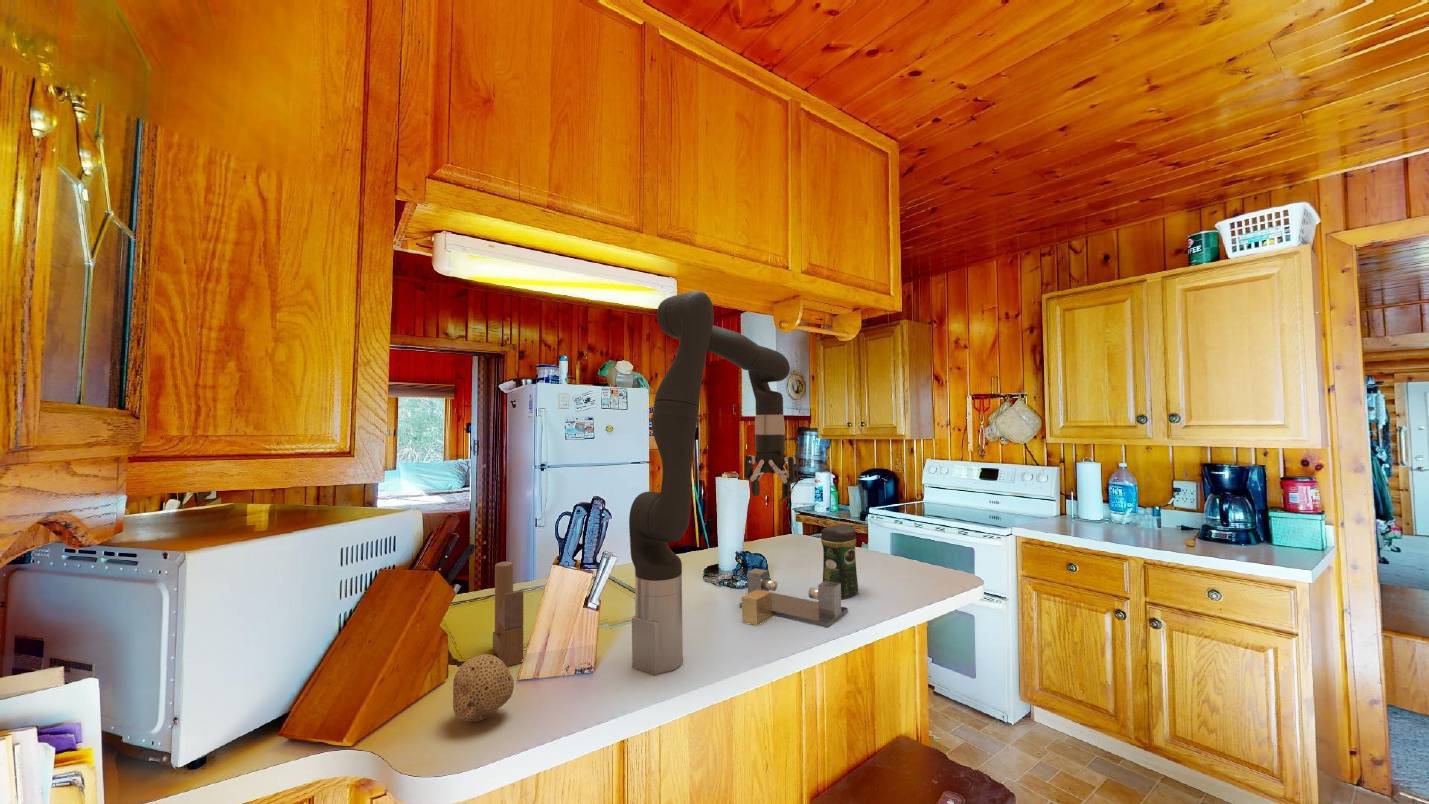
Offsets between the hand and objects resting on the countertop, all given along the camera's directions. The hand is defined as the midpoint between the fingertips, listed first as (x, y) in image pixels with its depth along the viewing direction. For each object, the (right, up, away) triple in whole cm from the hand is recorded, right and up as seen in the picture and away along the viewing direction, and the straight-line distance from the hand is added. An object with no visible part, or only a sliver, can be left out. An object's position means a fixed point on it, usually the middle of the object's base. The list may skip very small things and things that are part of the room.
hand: (770, 497), depth 134 cm
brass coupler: (-4, -28, -7) cm, 29 cm away
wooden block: (-57, -28, -25) cm, 68 cm away
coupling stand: (+5, -28, -1) cm, 29 cm away
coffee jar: (+20, -29, +11) cm, 36 cm away
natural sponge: (-51, -27, -49) cm, 76 cm away
